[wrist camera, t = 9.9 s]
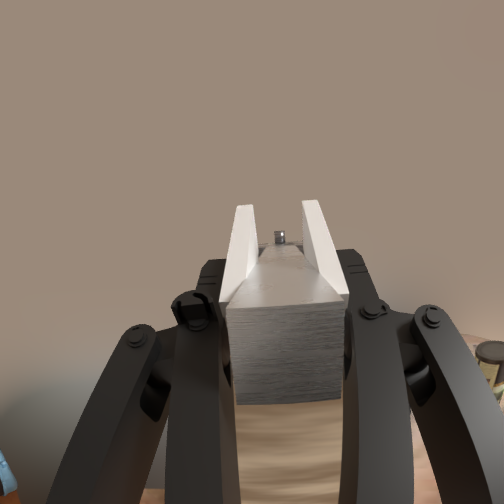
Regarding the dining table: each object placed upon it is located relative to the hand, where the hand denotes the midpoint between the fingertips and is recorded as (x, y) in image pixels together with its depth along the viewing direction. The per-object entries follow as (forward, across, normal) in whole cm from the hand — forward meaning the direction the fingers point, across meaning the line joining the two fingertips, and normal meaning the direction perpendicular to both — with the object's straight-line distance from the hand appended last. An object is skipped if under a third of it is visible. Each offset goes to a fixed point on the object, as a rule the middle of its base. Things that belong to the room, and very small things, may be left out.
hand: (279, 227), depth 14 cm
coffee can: (+3, +45, -50) cm, 67 cm away
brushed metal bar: (+1, 0, -5) cm, 5 cm away
